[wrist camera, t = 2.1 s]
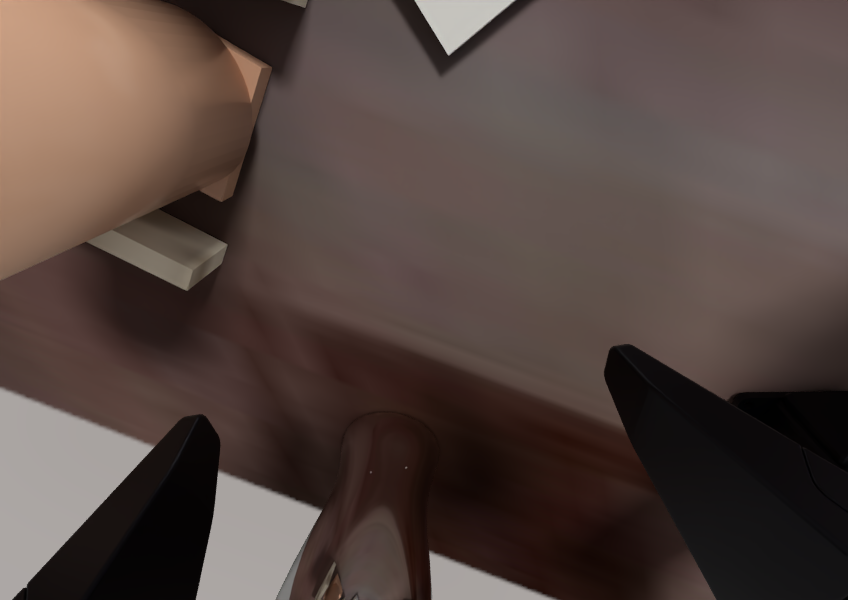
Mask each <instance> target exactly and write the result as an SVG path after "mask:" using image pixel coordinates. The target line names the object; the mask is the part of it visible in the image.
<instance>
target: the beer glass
mask: <svg viewBox="0 0 848 600" xmlns="http://www.w3.org/2000/svg"><path fill="white" fill-rule="evenodd" d="M438 461H439V446H438V442H437V440H436V438H435V436H434V435H433V433H432V432H431V431H430V430H429V429H428V428H427V427H426V426H425V425H423V424H422V423H420V422H419V421H417V420H415V419H413V418H411V417H409V416H406V415H403V414H399V413H393V412H376V413H371V414H367V415H364V416H362V417H360V418H358V419H357V420H355V421H354V422H353V423H352V424H351V425H350V426H349V427H348V428H347V430H346V432H345V434H344V437H343V441H342V447H341V455H340V464H339V470H338V475H337V478H336V482H335V485H334V487H333V489H332V492H331V494H330V497H329V499H328V501H327V502H326V504H325V506H324V508H323V510H322V512H321V514H320V516H319V517H318V519H317V521H316V523H315V525H314V526H313V528H312V530H311V532H310V534H309V535H308V537H307V539H306V541H305V543H304V544H303V546H302V548H301V550H300V552H299V554H298V555H297V557H296V559H295V561H294V563H293V565H292V567H291V569H290V571H289V573H288V575H287V577H286V579H285V581H284V583H283V585H282V587H281V589H280V591H279V593H278V595H277V598H276V600H432V588H431V574H430V559H429V546H428V531H427V503H428V497H429V491H430V487H431V484H432V481H433V478H434V475H435V472H436V469H437V465H438Z"/></svg>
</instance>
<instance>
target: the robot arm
mask: <svg viewBox="0 0 848 600" xmlns="http://www.w3.org/2000/svg"><path fill="white" fill-rule="evenodd" d="M604 377H605V381H606V384H607V386H608V388H609V391H610V393H611V396H612V398H613V401H614V403H615V405H616V408H617V410H618V413H619V415H620V418H621V420H622V423H623V425H624V427H625V430H626V432H627V434H628V437H629V439H630V441H631V443H632V445H633V447H634V449H635V451H636V453H637V455H638V457H639V458H640V460H641V462H642V464H643V466H644V468H645V469H646V471H647V473H648V475H649V477H650V479H651V480H652V482H653V484H654V486H655V488H656V490H657V491H658V493H659V495H660V497H661V499H662V501H663V502H664V504H665V506H666V508H667V510H668V512H669V513H670V515H671V517H672V519H673V521H674V523H675V524H676V526H677V528H678V530H679V532H680V534H681V535H682V537H683V539H684V541H685V543H686V545H687V546H688V548H689V550H690V552H691V554H692V556H693V557H694V559H695V561H696V563H697V565H698V567H699V568H700V570H701V572H702V574H703V576H704V578H705V579H706V581H707V583H708V585H709V587H710V589H711V590H712V592H713V594H714V596H715V598H716V600H848V391H822V392H747V393H741V394H739V395H737V396H736V397H735V399H734V401H733V404H730V403H729V402H727V401H725V400H724V399H722V398H720V397H719V396H717V395H715V394H714V393H712V392H710V391H708V390H707V389H705V388H703V387H702V386H700V385H698V384H697V383H695V382H693V381H692V380H690V379H688V378H687V377H685V376H683V375H682V374H680V373H678V372H677V371H675V370H673V369H672V368H670V367H668V366H666V365H665V364H663V363H661V362H660V361H658V360H656V359H655V358H653V357H651V356H650V355H648V354H646V353H645V352H643V351H641V350H640V349H638V348H636V347H635V346H633V345H630V344H624V345H618V346H613V347H611V348H610V350H609V353H608V357H607V362H606V366H605V370H604ZM746 402H747V403H746ZM744 403H745V404H744ZM219 456H220V439H219V436H218V434H217V433H216V431H215V430H214V428H213V426H212V425H211V423H210V422H209V420H208V419H207V417H206V416H204V415H202V414H198V415H192V416H187V417H184V418H182V419H181V420H179V421H178V422H177V424H176V425H175V426H174V427H173V428H172V429H171V430H170V431H169V432H168V433H167V434H166V435H165V436H164V438H163V439H162V440H161V441H160V442H159V443H158V444H157V445H156V446H155V447H154V448H153V449H152V450H151V452H150V453H149V454H148V455H147V456H146V457H145V458H144V459H143V460H142V461H141V462H140V463H139V464H138V465H137V467H136V468H135V469H134V470H133V471H132V472H131V473H130V474H129V475H128V476H127V477H126V478H125V479H124V481H123V482H122V483H121V484H120V485H119V486H118V487H117V488H116V489H115V490H114V491H113V492H112V493H111V494H110V496H109V497H108V498H107V499H106V500H105V501H104V502H103V503H102V504H101V505H100V506H99V507H98V508H97V509H96V511H95V512H94V513H93V514H92V515H91V516H90V517H89V518H88V519H87V520H86V522H84V523H83V525H82V526H81V527H80V528H79V529H78V530H77V531H76V532H75V533H74V534H73V535H72V536H71V537H70V538H69V540H68V541H67V542H66V543H65V544H64V545H63V546H62V547H61V548H60V549H59V550H58V551H57V553H55V555H54V556H53V557H52V558H51V559H50V560H49V561H48V562H47V563H46V564H45V565H44V566H43V567H42V569H41V570H40V571H39V572H38V573H37V574H36V575H35V576H34V577H33V578H32V579H31V580H30V581H29V582H28V584H27V588H23V589H22V590H21V591H20V592H19V593H18V594H17V595H16V596H15V597H14V598H13V599H12V600H196V596H197V591H198V586H199V582H200V577H201V572H202V567H203V563H204V558H205V553H206V549H207V544H208V539H209V534H210V530H211V525H212V519H213V513H214V505H215V495H216V485H217V476H218V466H219Z"/></svg>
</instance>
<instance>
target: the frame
mask: <svg viewBox="0 0 848 600" xmlns="http://www.w3.org/2000/svg"><path fill="white" fill-rule="evenodd" d="M282 1H285V2H288V3H291V4H294V5H297V6H301V7H304V8H306V4H307V1H308V0H282ZM86 242H88V243H90V244H92V245H94V246H96V247H98V248H100V249H102V250H104V251H106V252H108V253H110V254H112V255H114V256H116V257H118V258H120V259H122V260H124V261H127V262H129V263H131V264H133V265H135V266H137V267H139V268H141V269H143V270H145V271H147V272H149V273H151V274H153V275H155V276H157V277H159V278H161V279H163V280H165V281H167V282H169V283H171V284H174V285H176V286H178V287H180V288H182V289H184V290H186V291H188V290H189V289H190V288H192V287H193V286H194V285H195V284H197V283H198V282H199V281H200V280H202V279H203V278H204V277H205V276H207V275H208V274H209V273H211V272H212V271H213V270H214V269H216V268H217V267H218V266H219V265H221V264H222V261H223V258H224V255H225V252H226V249H227V246H228V244H226V243H224V242H222V241H220V240H218V239H216V238H214V237H212V236H210V235H208V234H206V233H204V232H202V231H200V230H198V229H196V228H194V227H193V226H191V225H189V224H187V223H185V222H183V221H181V220H179V219H177V218H175V217H173V216H171V215H169V214H167V213H165V212H163V211H161V210H159V209H156V210H154V211H152V212H150V213H148V214H145V215H143V216H141V217H139V218H137V219H134V220H132V221H130V222H128V223H126V224H123V225H121V226H119V227H117V228H115V229H113V230H110V231H108V232H106V233H104V234H102V235H99V236H97V237H95V238H93V239H91V240H88V241H86Z"/></svg>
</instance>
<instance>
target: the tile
mask: <svg viewBox="0 0 848 600" xmlns="http://www.w3.org/2000/svg"><path fill="white" fill-rule="evenodd" d="M515 1H516V0H415V2H416V4H417V5H418V7H419V8H420V10H421V12H422V13H423V15H424V17H425V18H426V20H427V22H428V23H429V25H430V26H431V28H432V30H433V31H434V33H435V35H436V36H437V38H438V39H439V41H440V43H441V44H442V46H443V48H444V49H445V51H446V52H447V54H448V56H450V55H451V54H452V53H454V52H455V51H456V50H457V49H458V48H460V47H461V46H462V45H463V44H464V43H466V42H467V41H468V40H469V39H470V38H472V37H473V36H474V35H475V34H476V33H478V32H479V31H480V30H481V29H482V28H484V27H485V26H486V25H487V24H488V23H490V22H491V21H492V20H493V19H495V18H496V17H497V16H498V15H499V14H501V13H502V12H503V11H504V10H505V9H507V8H508V7H509V6H510V5H511V4H513V3H514V2H515Z"/></svg>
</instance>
